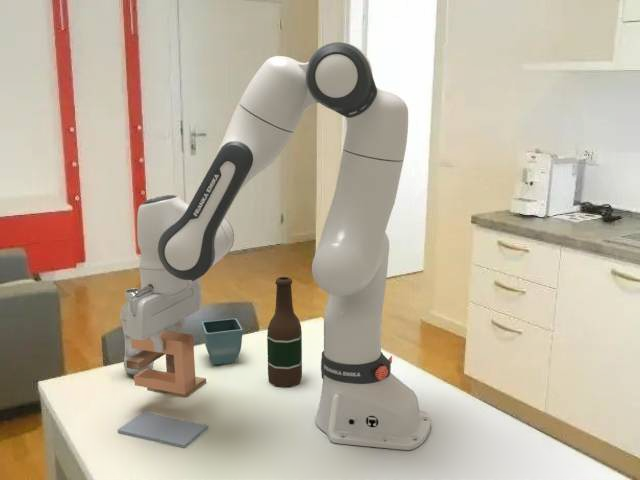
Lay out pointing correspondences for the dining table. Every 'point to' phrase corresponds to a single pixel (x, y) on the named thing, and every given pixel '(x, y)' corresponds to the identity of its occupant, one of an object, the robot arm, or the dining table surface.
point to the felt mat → (163, 429)
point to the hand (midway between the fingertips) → (168, 345)
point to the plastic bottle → (128, 347)
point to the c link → (183, 364)
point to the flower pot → (222, 340)
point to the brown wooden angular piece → (149, 356)
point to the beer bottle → (284, 339)
